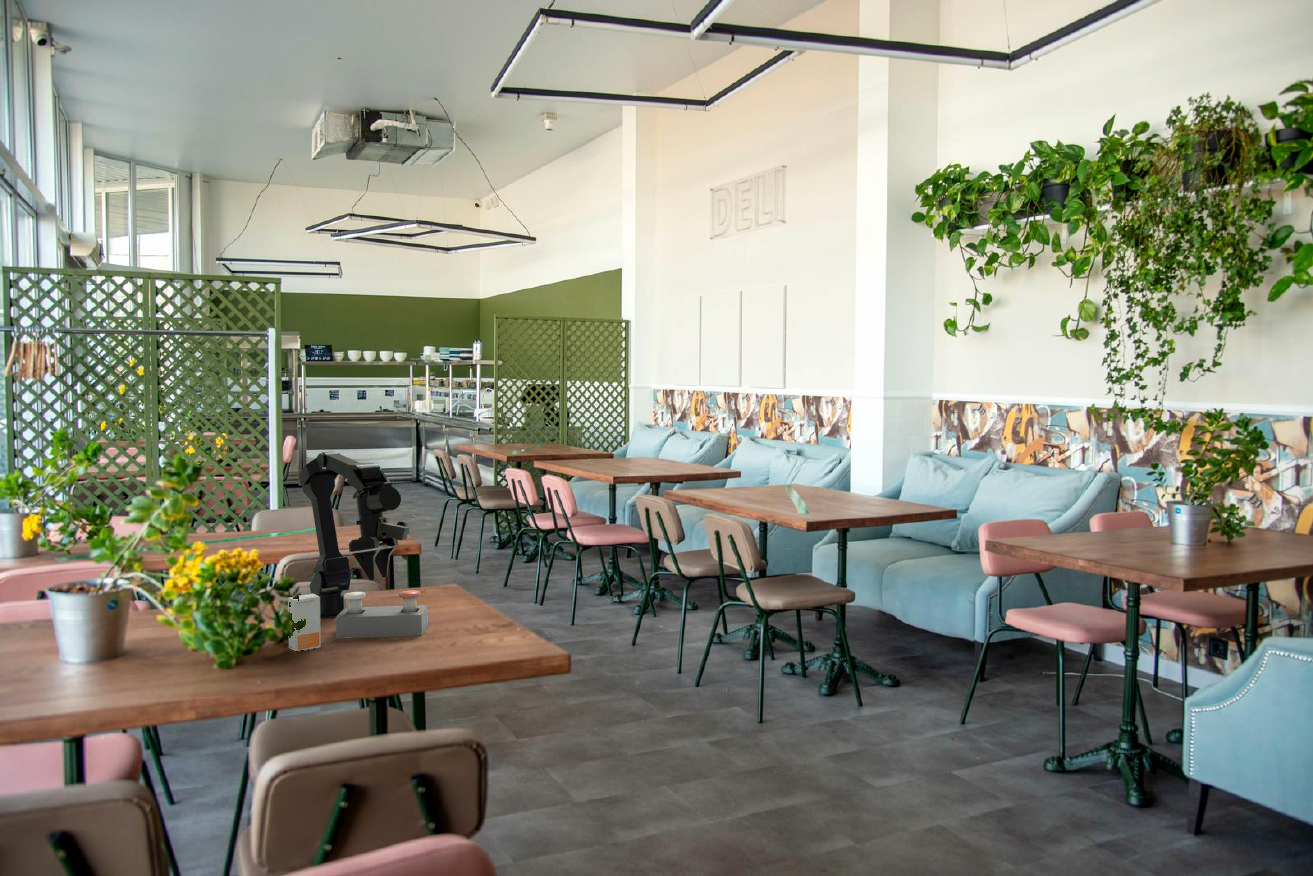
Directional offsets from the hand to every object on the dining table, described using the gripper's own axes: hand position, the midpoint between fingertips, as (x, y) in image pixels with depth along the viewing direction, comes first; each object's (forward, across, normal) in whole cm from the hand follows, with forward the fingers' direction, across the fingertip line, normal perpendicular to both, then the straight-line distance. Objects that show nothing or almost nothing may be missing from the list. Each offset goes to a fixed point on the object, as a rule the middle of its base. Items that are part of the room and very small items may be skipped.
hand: (378, 578), depth 231 cm
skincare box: (+13, -13, +14) cm, 23 cm away
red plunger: (+9, +2, -6) cm, 11 cm away
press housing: (+13, +2, +1) cm, 13 cm away
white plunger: (+8, 0, +7) cm, 10 cm away
